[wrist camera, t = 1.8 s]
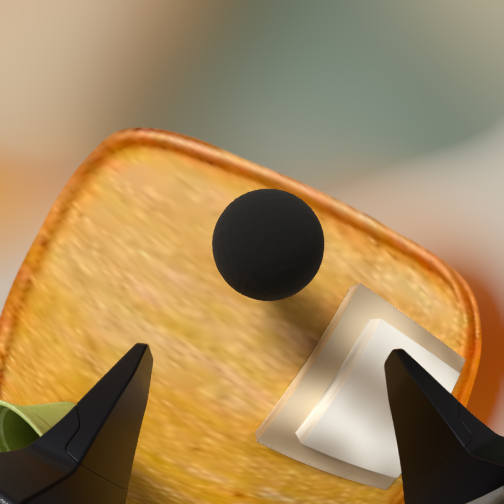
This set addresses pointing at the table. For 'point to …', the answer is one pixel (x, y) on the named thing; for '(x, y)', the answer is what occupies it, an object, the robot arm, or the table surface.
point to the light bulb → (268, 244)
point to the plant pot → (28, 422)
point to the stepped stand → (353, 391)
